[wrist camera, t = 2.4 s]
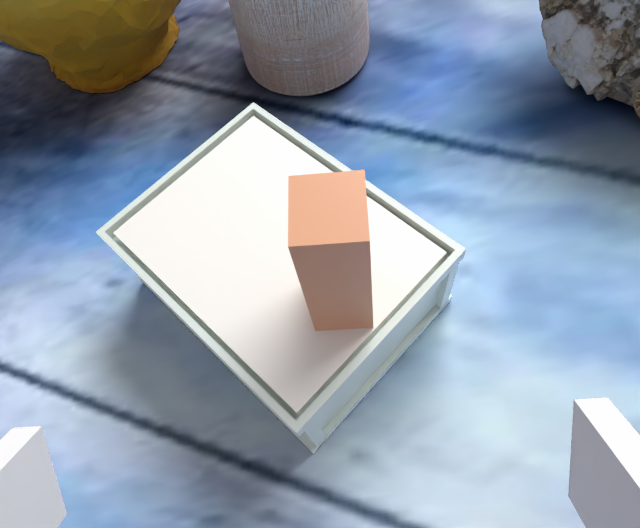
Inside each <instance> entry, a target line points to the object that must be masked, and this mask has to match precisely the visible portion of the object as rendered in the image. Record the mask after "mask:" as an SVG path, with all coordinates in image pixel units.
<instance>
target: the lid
mask: <svg viewBox="0 0 640 528" xmlns="http://www.w3.org/2000/svg"><path fill="white" fill-rule="evenodd" d="M113 233H114V234H115V235H116V237H117V238H118V239H119V240H120V241H121V242H122V243H123V244H124V245H125V246H126V247H127V248H128V249H129V250H130V251H131V252H132V253H133V254H134V255H135V256H136V257H137V258H138V259H139V260H140V261H142V262H143V263H144V264H145V265H146V266H147V267H148V268H149V269H150V270H151V271H152V272H153V273H154V274H155V275H156V276H157V277H158V278H159V279H160V280H161V281H162V282H163V283H164V284H165V285H166V286H167V287H168V288H169V289H170V290H171V291H172V292H173V293H174V294H175V295H176V296H177V297H178V298H179V299H180V300H181V301H182V302H183V303H184V304H185V305H186V306H187V307H188V308H189V309H190V310H191V311H192V312H193V313H194V314H195V315H196V316H198V317H199V318H200V319H201V320H202V321H203V322H204V323H205V324H206V325H207V326H208V327H209V328H210V329H211V330H212V331H213V332H214V333H215V334H216V335H217V336H218V337H219V338H220V339H221V340H222V341H223V342H224V343H225V344H226V345H227V346H228V347H229V348H230V349H231V350H232V351H233V352H234V353H235V354H236V355H237V356H238V357H239V358H240V359H241V360H242V361H243V362H244V363H245V364H246V365H247V366H248V367H249V368H250V369H251V370H252V371H254V372H255V373H256V374H257V375H258V376H259V377H260V378H261V379H262V380H263V381H264V382H265V383H266V384H267V385H268V386H269V387H270V388H271V389H272V390H273V391H274V392H275V393H276V394H277V395H278V396H279V397H280V398H281V399H282V400H283V401H284V402H285V403H286V404H287V405H288V406H289V407H290V408H291V409H292V410H293V411H294V412H295V413H296V414H297V415H298V416H300V415H301V414H302V413H303V412H304V411H305V409H306V408H307V407H308V406H309V405H310V404H311V403H312V402H313V401H314V400H315V399H316V398H317V397H318V395H319V394H320V393H321V392H322V391H323V390H324V389H325V388H326V387H327V386H328V385H329V384H330V383H331V381H332V380H333V379H334V378H335V377H336V376H337V375H338V374H339V373H340V372H341V371H342V370H343V369H344V367H345V366H346V365H347V364H348V363H349V362H350V361H351V360H352V359H353V358H354V357H355V356H356V355H357V353H358V352H359V351H360V350H361V349H362V348H363V347H364V346H365V345H366V344H367V343H368V342H369V341H370V339H371V338H372V337H373V336H374V335H375V334H376V333H377V332H378V331H379V330H380V329H381V328H382V327H383V325H384V324H385V323H386V322H387V321H388V320H389V319H390V318H391V317H392V316H393V315H394V314H395V313H396V311H397V310H398V309H399V308H400V307H401V306H402V305H403V304H404V303H405V302H406V301H407V300H408V299H409V297H410V296H411V295H412V294H413V293H414V292H415V291H416V290H417V289H418V288H419V287H420V286H421V285H422V283H423V282H424V281H425V280H426V279H427V278H428V277H429V276H430V275H431V274H432V273H433V272H434V271H435V269H436V268H437V267H438V266H439V265H440V264H441V263H442V262H443V261H444V260H445V258H446V253H447V252H446V251H444V250H443V249H442V248H440V247H439V246H437V245H436V244H434V243H433V242H432V241H430V240H429V239H427V238H426V237H425V236H423V235H422V234H420V233H419V232H417V231H416V230H415V229H413V228H412V227H410V226H409V225H408V224H406V223H405V222H403V221H402V220H400V219H399V218H398V217H396V216H395V215H393V214H392V213H391V212H389V211H388V210H386V209H385V208H383V207H382V206H381V205H379V204H378V203H376V202H375V201H374V200H372V199H371V198H369V197H368V196H367V195H366V182H365V170H355V171H343V172H333V171H331V170H330V169H328V168H327V167H325V166H324V165H323V164H321V163H320V162H318V161H317V160H316V159H314V158H313V157H311V156H310V155H308V154H307V153H306V152H304V151H303V150H301V149H300V148H299V147H297V146H296V145H294V144H293V143H291V142H290V141H289V140H287V139H286V138H284V137H283V136H282V135H280V134H279V133H277V132H276V131H274V130H273V129H272V128H270V127H269V126H267V125H266V124H265V123H263V122H262V121H260V120H259V119H257V118H256V117H255V116H253V117H251V118H250V119H249V120H248V121H247V122H245V123H244V124H243V125H242V126H241V127H239V128H238V129H237V130H236V131H235V132H233V133H232V134H231V135H230V136H229V137H227V138H226V139H225V140H224V141H223V142H221V143H220V144H219V145H218V146H217V147H215V148H214V149H213V150H212V151H211V152H209V153H208V154H207V155H206V156H205V157H203V158H202V159H201V160H200V161H199V162H197V163H196V164H195V165H194V166H193V167H191V168H190V169H189V170H188V171H187V172H185V173H184V174H183V175H182V176H181V177H179V178H178V179H177V180H176V181H175V182H173V183H172V184H171V185H170V186H169V187H167V188H166V189H165V190H164V191H162V192H161V193H160V194H159V195H158V196H156V197H155V198H154V199H153V200H152V201H150V202H149V203H148V204H147V205H146V206H144V207H143V208H142V209H141V210H140V211H138V212H137V213H136V214H135V215H134V216H132V217H131V218H130V219H129V220H128V221H126V222H125V223H124V224H123V225H122V226H120V227H119V228H118V229H117V230H116V231H114V232H113Z"/></svg>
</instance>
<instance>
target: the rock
mask: <svg viewBox="0 0 640 528" xmlns="http://www.w3.org/2000/svg"><path fill="white" fill-rule="evenodd" d="M539 5H540V11H541V14H542V17H543V21H542V24H541V27H542V32H543V36H544V39H545V41H546V47H547V52H548V58H549V60H550V62H551V63H552V65H553V66H554V67H555V68H556V69H557V70H558V71H559V73H560V74H561V75H562V77H563V78H564V80H565V82H566V83H567V85H569V86H570V87H571V88H573V89H574V88H575V87H577V86H578V85H582V86H583V88H584V90H585V92H586V93H587V95H590V94H594V96H595V98H596V99H597V101H599V100H603V99H604V98H605V97H610V98H613V99H615V100H618V101H621V102H623V103H626V104H628V105H630V106H633V107H634V109H635V111H636V113H637V115H638V117H639V119H640V0H539Z"/></svg>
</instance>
